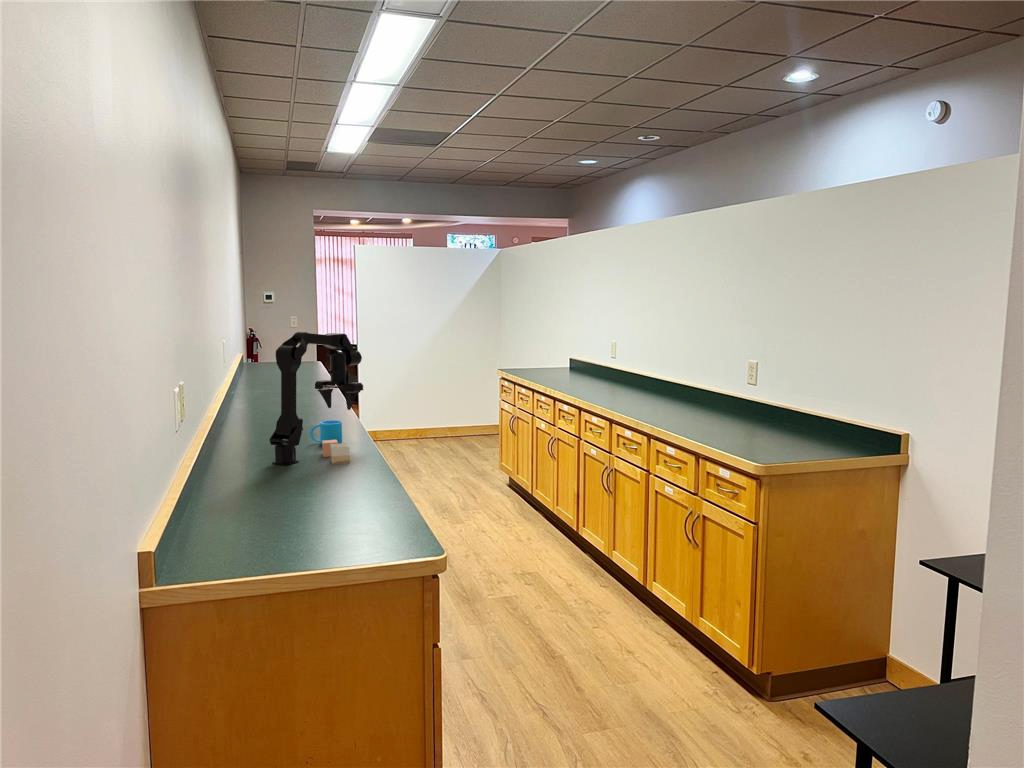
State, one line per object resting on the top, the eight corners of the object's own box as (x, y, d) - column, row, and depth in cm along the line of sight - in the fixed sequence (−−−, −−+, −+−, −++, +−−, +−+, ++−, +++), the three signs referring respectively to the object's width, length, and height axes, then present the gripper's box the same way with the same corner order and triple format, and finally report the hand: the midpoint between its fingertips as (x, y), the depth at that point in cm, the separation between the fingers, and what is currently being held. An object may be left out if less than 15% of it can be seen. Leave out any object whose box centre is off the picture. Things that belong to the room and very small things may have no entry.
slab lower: (350, 463, 255) (349, 455, 255) (332, 464, 253) (331, 456, 253) (348, 459, 261) (348, 451, 260) (330, 461, 259) (330, 452, 259)
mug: (342, 440, 293) (341, 420, 292) (342, 444, 285) (341, 423, 284) (310, 441, 290) (309, 421, 289) (309, 446, 282) (309, 424, 281)
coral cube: (338, 456, 266) (337, 442, 265) (323, 457, 264) (323, 443, 264) (337, 453, 270) (336, 439, 270) (322, 454, 269) (322, 440, 268)
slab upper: (349, 455, 255) (349, 446, 254) (331, 456, 253) (331, 447, 253) (348, 451, 260) (347, 443, 260) (330, 452, 259) (330, 444, 258)
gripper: (372, 366, 279) (373, 407, 281) (333, 364, 287) (334, 404, 289) (352, 369, 269) (353, 412, 271) (313, 366, 277) (314, 408, 279)
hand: (339, 408), depth 278 cm, fingers open, 9 cm apart
